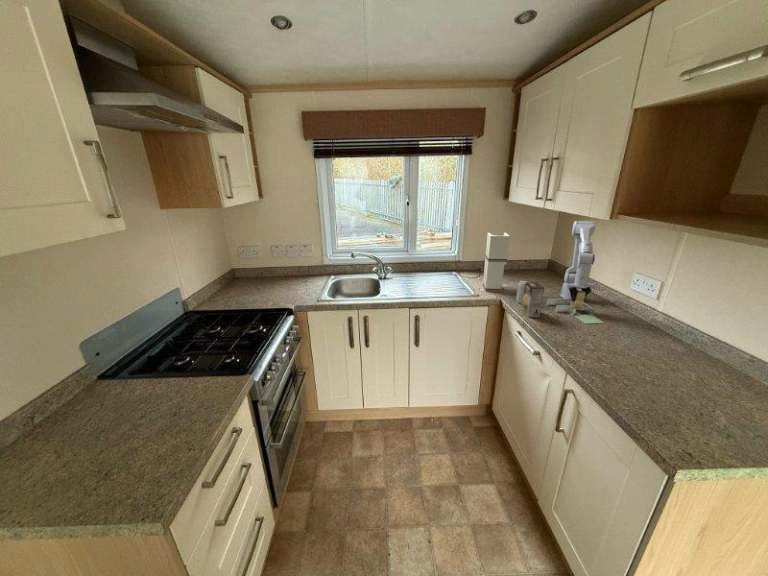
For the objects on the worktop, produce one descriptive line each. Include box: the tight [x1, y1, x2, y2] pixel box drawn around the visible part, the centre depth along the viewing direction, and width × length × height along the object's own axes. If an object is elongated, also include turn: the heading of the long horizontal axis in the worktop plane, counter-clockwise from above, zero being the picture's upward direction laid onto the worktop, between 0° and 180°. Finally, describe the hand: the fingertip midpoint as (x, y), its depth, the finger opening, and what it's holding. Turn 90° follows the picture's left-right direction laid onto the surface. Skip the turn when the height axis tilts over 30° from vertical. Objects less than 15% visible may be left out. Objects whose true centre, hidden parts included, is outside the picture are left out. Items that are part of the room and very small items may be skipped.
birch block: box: [570, 289, 586, 310], centre depth 158 cm, size 4×4×9 cm
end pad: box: [573, 314, 605, 325], centre depth 150 cm, size 9×9×1 cm
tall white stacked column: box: [482, 232, 511, 293], centre depth 188 cm, size 11×11×35 cm
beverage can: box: [515, 280, 528, 304], centre depth 171 cm, size 6×6×12 cm
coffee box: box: [521, 281, 545, 318], centre depth 156 cm, size 9×6×16 cm
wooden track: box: [546, 297, 595, 316], centre depth 161 cm, size 15×16×4 cm
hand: (577, 300), depth 159 cm, fingers closed on birch block, 4 cm apart
